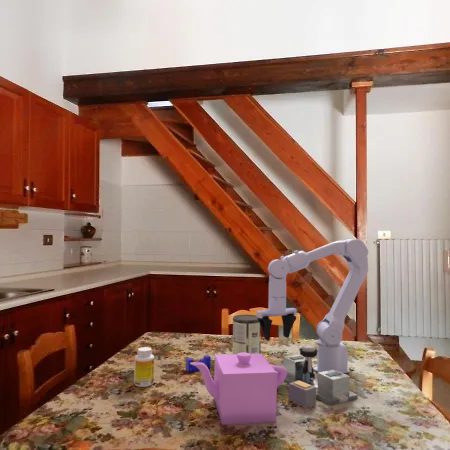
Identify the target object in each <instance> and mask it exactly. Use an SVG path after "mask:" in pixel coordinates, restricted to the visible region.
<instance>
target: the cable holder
mask: <svg viewBox="0 0 450 450" xmlns="http://www.w3.org/2000/svg"><path fill="white" fill-rule="evenodd" d="M211 358H212V357H211V355H208V354H207V355H203V358H201V359H199V360H198V361H197V362H200V363H204V364H205V365H206V366H207V367H208V369H210V370H211V366H212V365H211V363H212V362H211ZM192 362H194V359H193V358H191V357H189V358H186V359H185V372H188V373H193V372H199V371H200V370H199V369H198V368H197V367H196V366H194V365H192V364H190V363H192ZM200 372H201V371H200Z"/></svg>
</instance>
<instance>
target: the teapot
mask: <svg viewBox="0 0 450 450" xmlns="http://www.w3.org/2000/svg"><path fill="white" fill-rule="evenodd" d="M190 364H192V365H194V366H196V367H197V368H198V369H199V370H200V373H201V375H202V379H203V382H204V386H205V389H206V390H207V393H208V394H209V395H210V396H211V397H212V398H213V399H214V402H215V405H216V409H217V412H218V416H219V418H220V422H221V425H222V426H223V425H241V424H243V425H246V424H262V423H263V424H265V423H276V422H277V394H278V393H277V389H278V387H279V386H280V385H281V384H282V383H283V382H285V381H284V380H285V378H286V376H287V370H286V369H285V368H284V367H283V365H276V364H270V362H269V361H268V360H267V358H266V357H265V356H264V355H263V354H262V353H261V354H249V353H245V352H242V353H238V354H233V353H231V354H215V355H214V379H213V378H212V375H211V373H210V370H209V369H208V367H207V366H206V365H205V364H204V363H200V362H198V361H195V362H194V361H193V362H192V363H190ZM277 372H278V374H277Z"/></svg>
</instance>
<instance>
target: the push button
mask: <svg viewBox="0 0 450 450" xmlns="http://www.w3.org/2000/svg"><path fill="white" fill-rule="evenodd" d="M298 350H299V355H302V356H303V357H304V358H305V364H304V367H303V378H304V379H305V380H306V382H307V383H314V379H315V375H316V374H315V372H314V371H315V370H314V368H313V367H314V366H313V358H315V357H317V352H318V350H317V348H315V346H314V345H311V344H303V345H302V347H300V348H299V349H298ZM304 379H303V380H304Z"/></svg>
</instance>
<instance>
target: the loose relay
mask: <svg viewBox="0 0 450 450" xmlns="http://www.w3.org/2000/svg"><path fill="white" fill-rule="evenodd" d="M288 401H290V402H293V403H295V404H297V405H300V406H302V407H303V408H306V409H307V408H309V407H312V406H314V405H317V398H316V387H315V386H312V385H310V384H307V383H305V382H302V381H300V380H298V381H295V382H292V383H288Z"/></svg>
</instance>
